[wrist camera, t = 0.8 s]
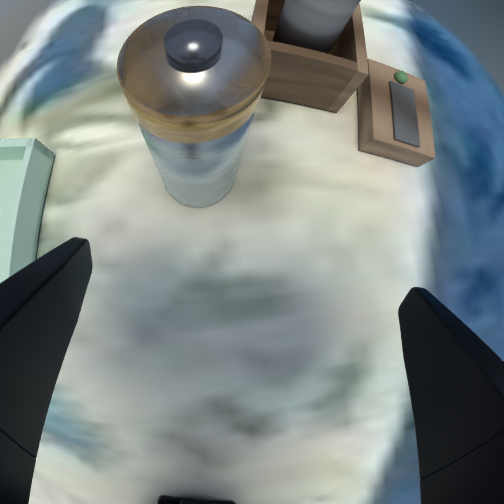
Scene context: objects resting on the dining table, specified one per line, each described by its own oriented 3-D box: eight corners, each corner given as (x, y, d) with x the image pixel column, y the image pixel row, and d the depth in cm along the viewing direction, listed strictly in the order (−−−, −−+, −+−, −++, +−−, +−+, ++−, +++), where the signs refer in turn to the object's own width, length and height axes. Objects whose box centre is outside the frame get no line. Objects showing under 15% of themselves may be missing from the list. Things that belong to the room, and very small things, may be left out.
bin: (336, 112, 24) (425, 8, 11) (239, 93, 23) (270, -43, 9) (335, 44, 24) (397, -55, 11) (250, 26, 23) (279, -92, 10)
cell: (230, 212, 22) (269, 115, 8) (157, 203, 21) (90, 100, 7) (239, 144, 22) (280, 1, 9) (169, 136, 22) (139, -10, 8)
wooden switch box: (418, 166, 24) (441, 154, 21) (359, 150, 24) (379, 134, 20) (411, 92, 25) (429, 76, 22) (356, 73, 24) (372, 53, 21)
